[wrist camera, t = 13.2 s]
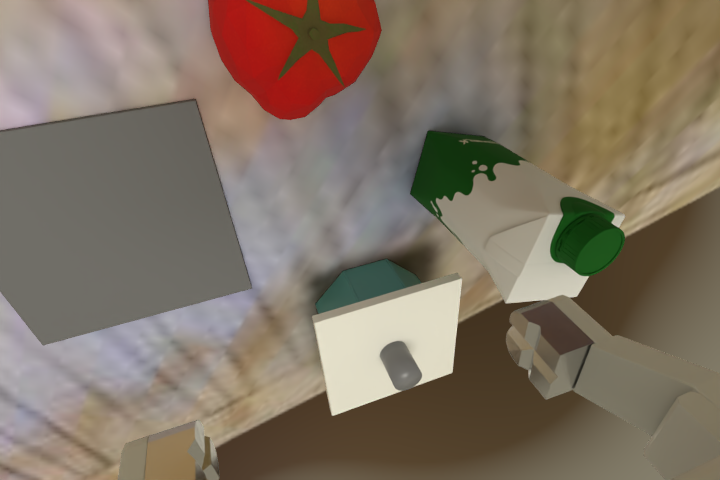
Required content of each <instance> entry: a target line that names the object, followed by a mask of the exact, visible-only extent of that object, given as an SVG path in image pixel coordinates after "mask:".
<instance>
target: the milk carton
mask: <svg viewBox="0 0 720 480" xmlns="http://www.w3.org/2000/svg"><path fill="white" fill-rule="evenodd" d="M410 194H411V195H412V196H413V197H414V198H415V199H416V200H417V201H419V202H420V203H421V204H422V205H423V206H424V207H425V208H426V209H427V210H429V211H430V212H431V213H432V214H433V215H434V216H435V217H436V218H437V219H439V220H440V221H441V222H442V223H443V224H444V225H445V226H446V227H447V229H448V230H449V231H450V232H451V233H452V234H453V235H454V236H455V237H456V238H457V239H458V240H459V241H460V242H461V243H462V244H463V245H464V246H465V247H466V248H467V249H468V250H469V251H470V253H471V254H472V255H473V256H474V257H475V258H476V259H477V260H478V261H479V262H480V263H481V264H482V265H483V266H484V267H485V268H486V269H487V270H488V272H489V274H490V276H491V277H492V279H493V281H494V283H495V285H496V286H497V288H498V290H499V292H500V294H501V295H502V297H503V299H504V301H505V303H516V302H527V301H537V300H548V299H551V298H554V297H556V296H559V295H565V296H567V297H577V295H578V294H579V292H580V290H581V289H582V287H583V285H584V284H585V282H586V280H587V279H588V277H589V276H591V275H594V274H596V273H599V272H600V271H602V270H603V269H605V268H606V267H607V266H609V265H610V264H611V263H612V262H613V261H614V260H615V259H616V257H617V256H618V255H619V253H620V251H621V250H622V247H623V245H624V241H625V235H624V233H623V231H622V230H621V229H620V228H619V226H620V225H621V223H622V221H623V219H624V217H625V215H624V214H623V213H621V212H619V211H617V210H615V209H613V208H611V207H609V206H607V205H605V204H603V203H601V202H599V201H598V200H596V199H594V198H592V197H590V196H588V195H586V194H584V193H582V192H580V191H578V190H576V189H574V188H572V187H570V186H569V185H567V184H565V183H563V182H562V181H560V180H558V179H557V178H555V177H553V176H552V175H550V174H548V173H547V172H545V171H543V170H542V169H540V168H538V167H537V166H535V165H533V164H532V163H530V162H528V161H527V160H525V159H523V158H522V157H520V156H518V155H517V154H515V153H513V152H512V151H510V150H508V149H507V148H505V147H503V146H502V145H500V144H498V143H496V142H494V141H492V140H490V139H488V138H486V137H484V136H476V135H466V134H456V133H446V132H435V131H428V133H427V136H426V140H425V143H424V147H423V150H422V154H421V158H420V161H419V165H418V168H417V172H416V175H415V179H414V182H413V186H412V189H411V193H410Z"/></svg>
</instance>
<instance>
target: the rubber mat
mask: <svg viewBox="0 0 720 480" xmlns="http://www.w3.org/2000/svg"><path fill="white" fill-rule="evenodd" d="M251 288H252V287H251V283H250V280H249V276H248V273H247V270H246V266H245V263H244V260H243V256H242V253H241V250H240V246H239V243H238V240H237V236H236V233H235V230H234V226H233V223H232V220H231V216H230V213H229V210H228V206H227V203H226V200H225V196H224V193H223V190H222V186H221V183H220V180H219V176H218V173H217V170H216V166H215V163H214V160H213V156H212V153H211V150H210V146H209V143H208V140H207V136H206V133H205V130H204V126H203V123H202V120H201V116H200V113H199V110H198V107H197V103H196V100H195V99H192V100H186V101H179V102H173V103H167V104H161V105H155V106H149V107H143V108H136V109H130V110H124V111H118V112H112V113H106V114H99V115H93V116H87V117H81V118H75V119H69V120H62V121H56V122H50V123H44V124H38V125H32V126H25V127H19V128H13V129H7V130H1V131H0V292H1V293H2V294H3V296H4V297H5V298H6V299H7V301H8V302H9V303H10V304H11V306H12V307H13V308H14V310H15V311H16V312H17V313H18V315H19V316H20V317H21V318H22V320H23V321H24V322H25V323H26V325H27V326H28V327H29V328H30V330H31V331H32V332H33V333H34V335H35V336H36V337H37V339H38V340H39V341H40V342H41V344H42V345H46V344H50V343H54V342H57V341H61V340H65V339H68V338H72V337H76V336H79V335H83V334H87V333H90V332H94V331H98V330H101V329H105V328H109V327H112V326H116V325H120V324H123V323H127V322H131V321H134V320H138V319H142V318H145V317H149V316H153V315H156V314H160V313H164V312H167V311H171V310H175V309H178V308H182V307H186V306H189V305H193V304H197V303H200V302H204V301H207V300H211V299H215V298H218V297H222V296H226V295H229V294H233V293H237V292H240V291H244V290H248V289H251Z"/></svg>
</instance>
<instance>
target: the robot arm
mask: <svg viewBox="0 0 720 480" xmlns="http://www.w3.org/2000/svg"><path fill="white" fill-rule="evenodd" d="M509 321H510V323H511V324H512V325H513V326H512V327H511V328H510V329H509V331H508V332H507V337H506V343H507V347H508V350H509V352H510V354H511V356H512V358H513V359H514V361H515V362H516V363H517V364H518V366H521V367H523V368H525V369H527V370H529V379H530V381H531V382H532V383H533V384H534V386H535V387H536V388H537V389H538V391H539V392H540V393H541V394H542V395H543V397H544V398H545V399H549V398H551V397H554V396H557V395H559V394H562V393H565V392H568V391H570V390H573V389H574V392H576V393H578V394H580V395H581V396H583V397H585V398H586V399H588V400H590V401H592V402H594V403H595V404H597V405H599V406H600V407H602V408H604V409H606V410H608V411H609V412H611V413H613V414H614V415H616V416H618V417H620V418H621V419H623V420H625V421H627V422H628V423H630V424H632V425H634V426H636V427H637V428H639V429H641V430H642V431H644V432H646V433H648V434H649V435H651V436H652V438H651V439H650V440H649V442H648V443H647V445H646V446H645V448H644V457H645V458H646V459H647V460H648V461H649V462H650V463H651V464H652V466H653V467H654V468H655V469H656V470H657V471H658V472H659V473H660V475H661V476H662V477H663V478H664V479H665V480H720V373H718V372H715V371H712V370H710V369H707V368H704V367H702V366H699V365H696V364H694V363H691V362H688V361H686V360H683V359H680V358H678V357H675V356H672V355H669V354H666V353H664V352H661V351H658V350H656V349H653V348H651V347H648V346H645V345H643V344H640V343H637V342H635V341H632V340H629V339H627V338H624V337H621V336H618V335H616V336H612V335H610V334H609V333H608V332H607V331H606V330H605V329H604V328H603V327H601V326H600V325H599V324H598V323H597V322H596V321H595V320H594V319H593V318H591V317H590V316H589V315H588V314H587V313H586V312H585V311H583V310H582V309H581V308H580V307H579V306H578V305H577V304H576V303H574V301H572V300H571V299H570V298H569V297H567V296H565V295H559V296H556V297H554V298H551V299H548V300H545V301H544V300H543V301H541V302H538V303H535V304H533V305H530V306H527V307H524V308H521V309H519V310H516V311H514V312H513V313H512V314H511V315H510V320H509ZM218 479H219V465H218V460H217V454H216V450H215V447H214V445H213V442H212V440H211V439H210V437H207V436H204V427H203V425H202V424H201V422H200V421H199V420H196V421H193V422H190V423H187V424H184V425H181V426H178V427H175V428H171V429H168V430H165V431H162V432H159V433H156V434H153V435H149V436H146V437H143V438H141V439H138V440H135V441H132V442H129V443H126V444H125V446H124V448H123V451H122V453H121V460H120V467H119V475H118V480H218Z"/></svg>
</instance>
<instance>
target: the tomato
mask: <svg viewBox="0 0 720 480" xmlns="http://www.w3.org/2000/svg"><path fill="white" fill-rule="evenodd" d="M208 4H209V16H210V28H211V32H212V36H213V39H214V41H215V44H216V46H217V49H218V52H219V55H220V58H221V60H222V62H223V63H224V65H225V66H226V68H227V69H228V71H229V72H230V74H231V75H232V77H233V78H234V80H235V81H236V82H237V83H239V84H240V85H241V86H242V87H243V88H244V89H246V90H247V91H248V92H249V93H250V94H251V95H252V96H253V97H254V98H255V99H256V101H257V102H258V103H259V104H260V106H261V107H262V108H263V109H264V110H265V111H267V112H269V113H270V114H272V115H274V116H276V117H277V118H279V119H287V120H292V119H297V118H302V117H305V116H307V115H308V114H309V113H310V112H312V111H313V110H314V109H315V108H317V107H318V106H319V105H320V104H321V103H322V101H323V100H324V99H325V98H326V97H329V96H333V95H335V94H337V93H338V92H340V91H342V90H343V89H345V88H346V87H348V86H349V85H351V84H353V83H354V82H355V81H356V80H357V78H358V77H359V75H360V74H361V72H362V71H363V69H364V68H365V66H366V65H367V63H368V62H369V60H370V59H371V57H372V55H373V53H374V50H375V47H376V45H377V42H378V40H379V37H380V34H381V31H382V30H381V26H380V21H379V17H378V13H377V8H376V4H375V1H374V0H208Z"/></svg>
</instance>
